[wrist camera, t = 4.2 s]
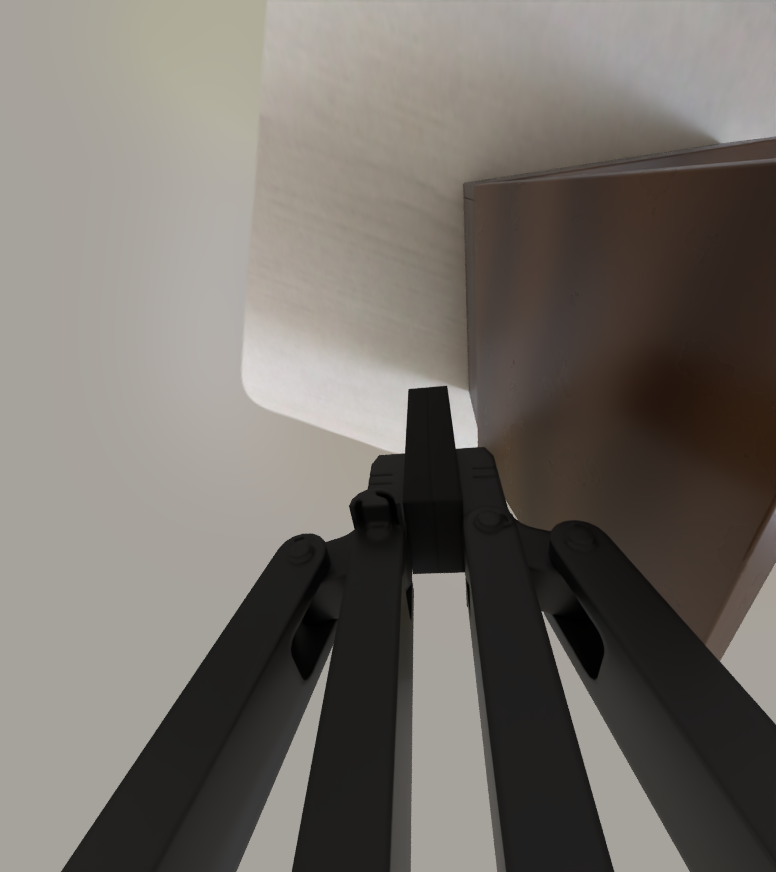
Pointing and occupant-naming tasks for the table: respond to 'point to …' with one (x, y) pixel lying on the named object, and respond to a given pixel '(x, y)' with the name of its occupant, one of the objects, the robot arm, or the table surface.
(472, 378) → the chest
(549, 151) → the table surface
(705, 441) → the chest lid
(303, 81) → the table surface
